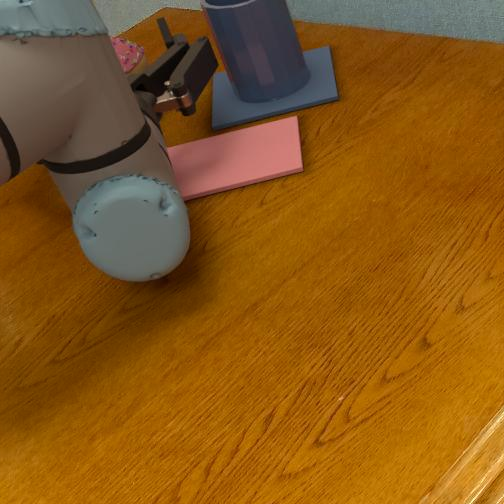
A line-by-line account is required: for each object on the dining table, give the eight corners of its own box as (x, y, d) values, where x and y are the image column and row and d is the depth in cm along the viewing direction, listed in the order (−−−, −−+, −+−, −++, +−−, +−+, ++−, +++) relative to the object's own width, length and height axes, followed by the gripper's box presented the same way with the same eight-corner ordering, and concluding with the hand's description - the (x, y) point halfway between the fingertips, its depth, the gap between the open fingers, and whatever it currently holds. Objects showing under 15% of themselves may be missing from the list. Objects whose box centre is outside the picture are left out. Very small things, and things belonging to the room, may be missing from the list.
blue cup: (237, 114, 95) (198, 15, 88) (236, 81, 99) (200, -15, 93) (313, 95, 95) (280, -5, 88) (309, 63, 100) (278, -34, 93)
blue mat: (213, 131, 93) (211, 126, 93) (214, 77, 101) (213, 73, 101) (339, 99, 93) (337, 95, 93) (330, 49, 101) (329, 45, 101)
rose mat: (143, 211, 85) (141, 207, 85) (149, 156, 91) (147, 152, 91) (303, 171, 85) (302, 166, 85) (298, 119, 92) (296, 115, 92)
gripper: (-15, 243, 80) (-17, 136, 93) (283, 144, 83) (239, 55, 97) (-72, 155, 74) (-65, 55, 88) (250, 53, 78) (208, -28, 91)
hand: (94, 55), depth 92 cm, fingers open, 13 cm apart
